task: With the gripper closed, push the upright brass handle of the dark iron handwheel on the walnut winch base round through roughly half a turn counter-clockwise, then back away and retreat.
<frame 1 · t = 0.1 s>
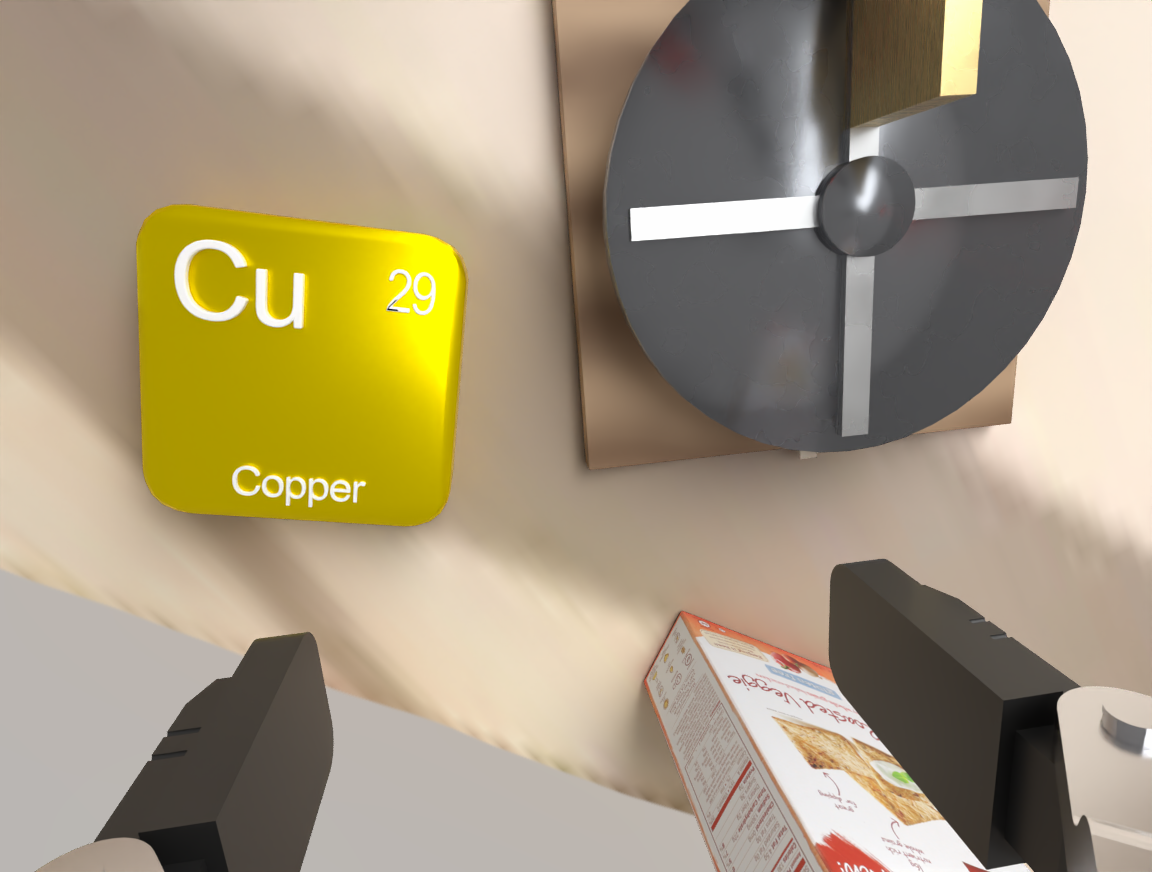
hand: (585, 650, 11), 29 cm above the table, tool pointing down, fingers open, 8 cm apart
cracker box: (749, 673, 46), on the table
winch base: (798, 216, 39), on the table
element tile: (323, 364, 38), on the table
handwheel: (890, 199, 30), point 9 cm above the table, hinge at 0.0°
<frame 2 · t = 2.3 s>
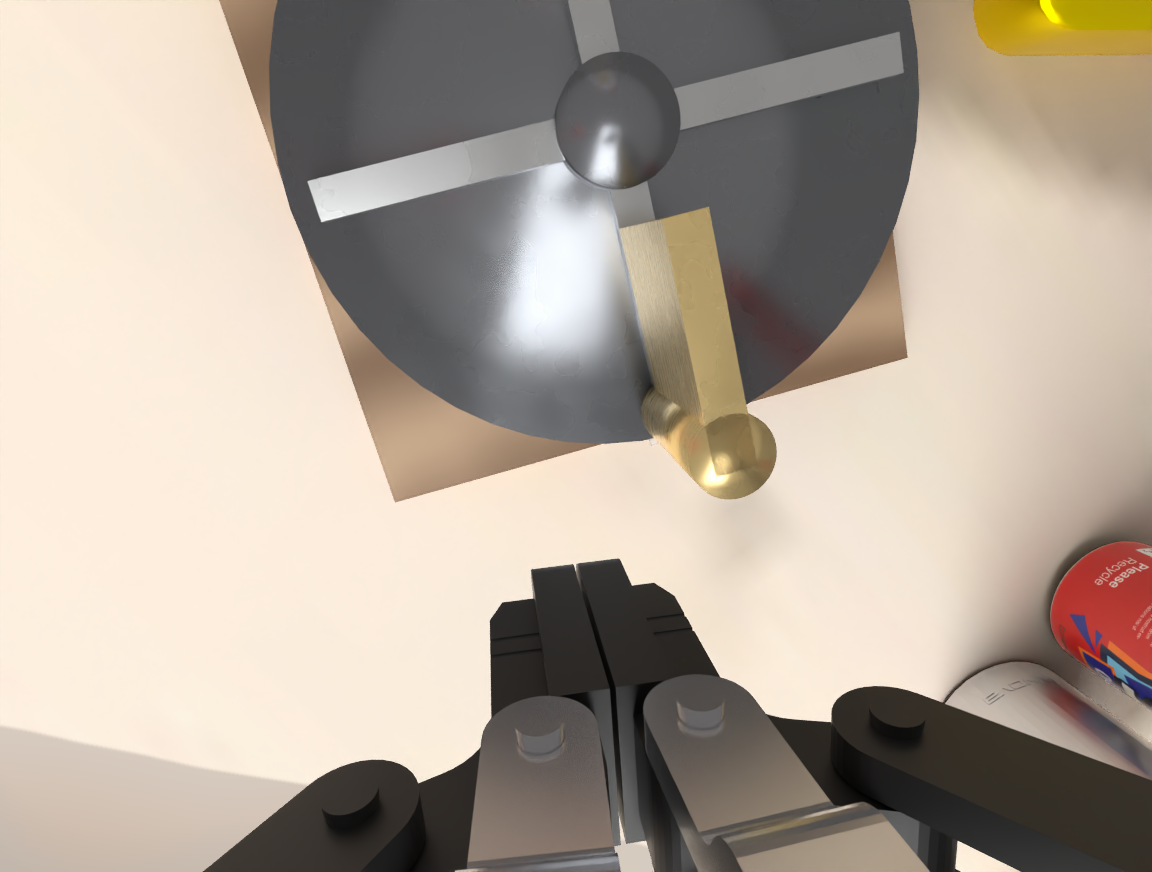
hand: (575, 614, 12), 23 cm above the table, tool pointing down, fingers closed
winch base: (588, 153, 31), on the table
handwheel: (629, 118, 23), point 9 cm above the table, hinge at 0.0°
soda can: (1095, 593, 41), on the table
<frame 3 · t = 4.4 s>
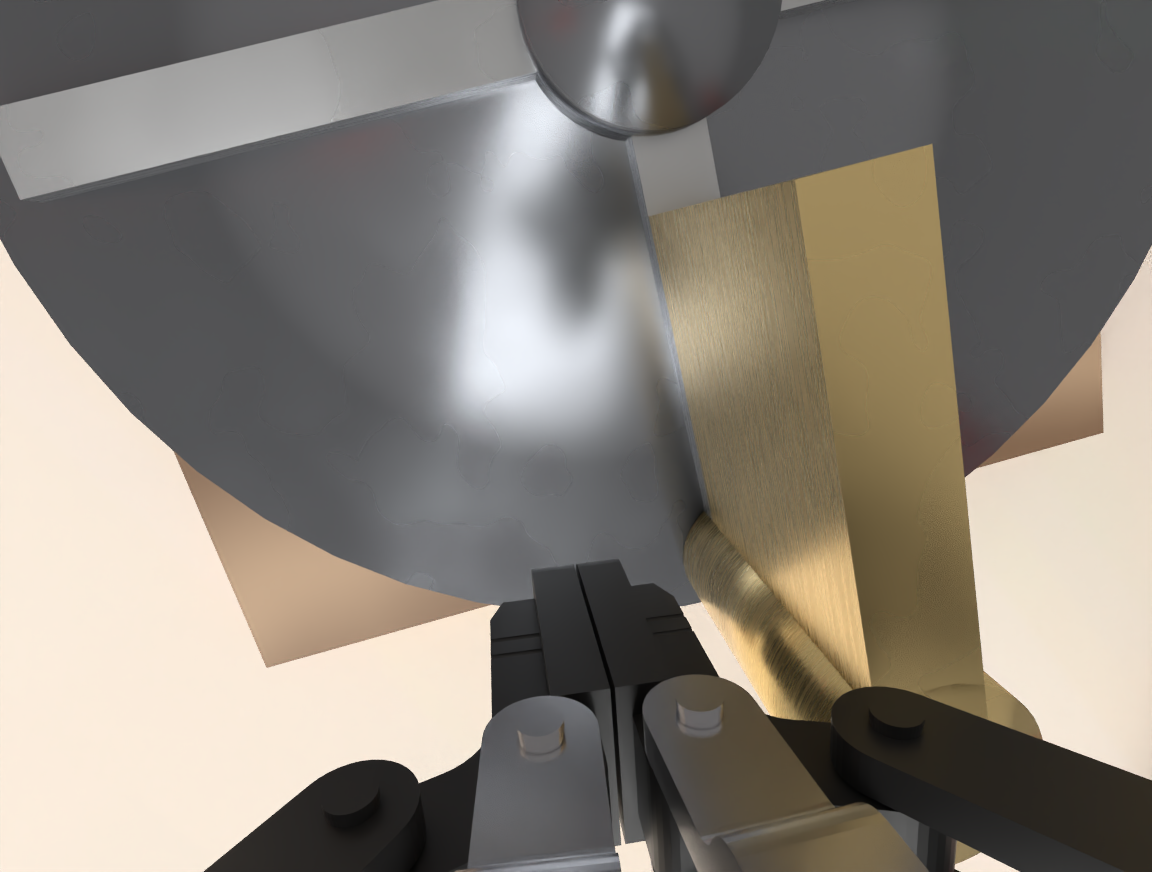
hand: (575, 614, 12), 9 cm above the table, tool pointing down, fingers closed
winch base: (589, 90, 18), on the table
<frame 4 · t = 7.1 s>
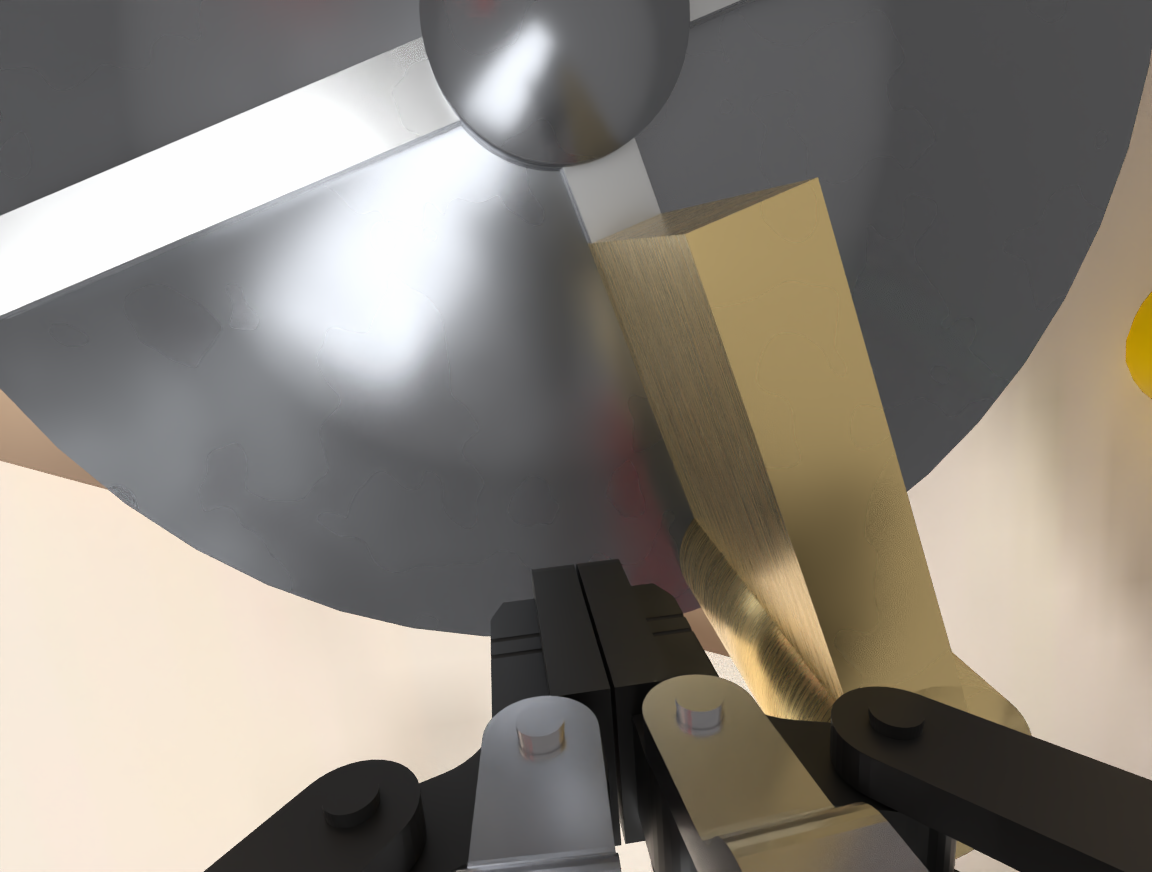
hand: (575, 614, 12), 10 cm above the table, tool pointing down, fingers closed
winch base: (531, 109, 18), on the table
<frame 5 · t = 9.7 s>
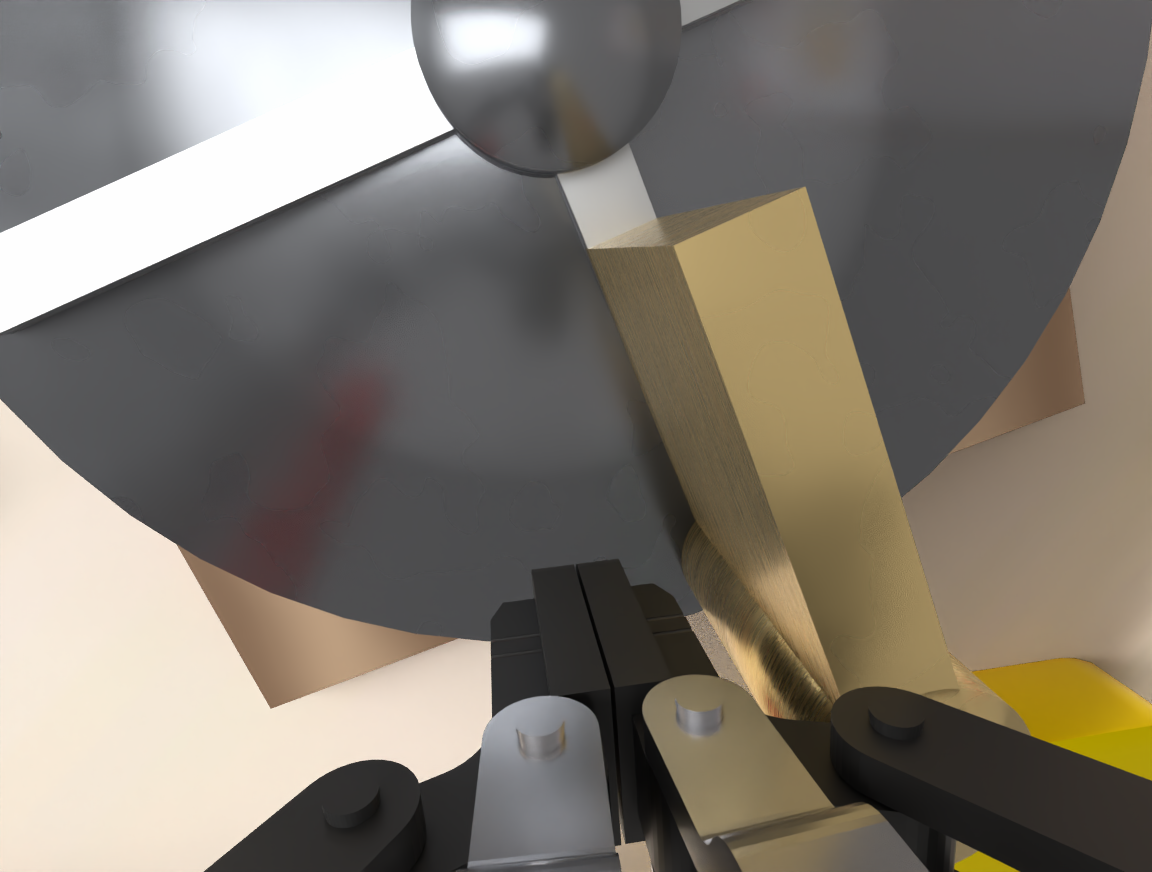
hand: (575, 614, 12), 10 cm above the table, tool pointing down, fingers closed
winch base: (528, 114, 18), on the table
element tile: (903, 834, 27), on the table
handwheel: (563, 4, 10), point 9 cm above the table, hinge at 94.0°, touching gripper
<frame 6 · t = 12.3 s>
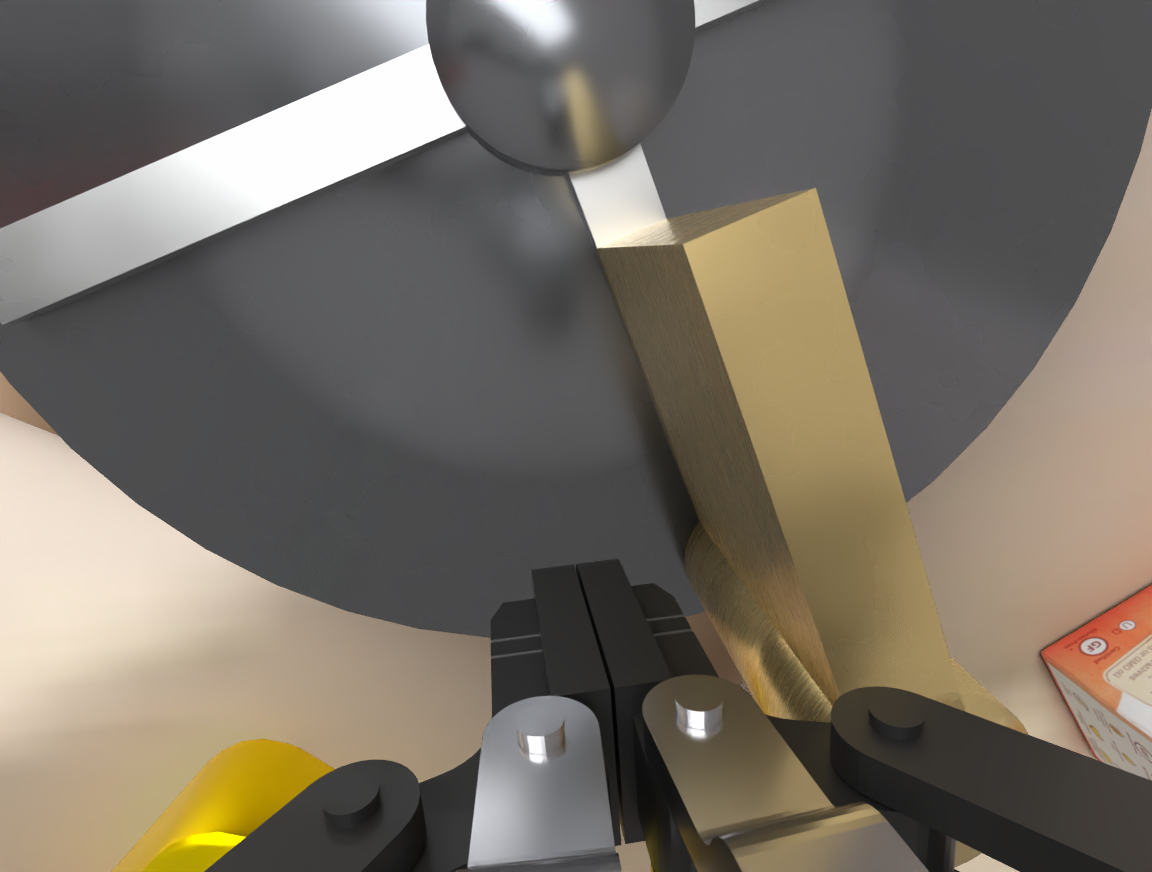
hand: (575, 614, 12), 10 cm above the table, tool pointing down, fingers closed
winch base: (540, 113, 18), on the table
handwheel: (577, 3, 10), point 9 cm above the table, hinge at 139.0°, touching gripper
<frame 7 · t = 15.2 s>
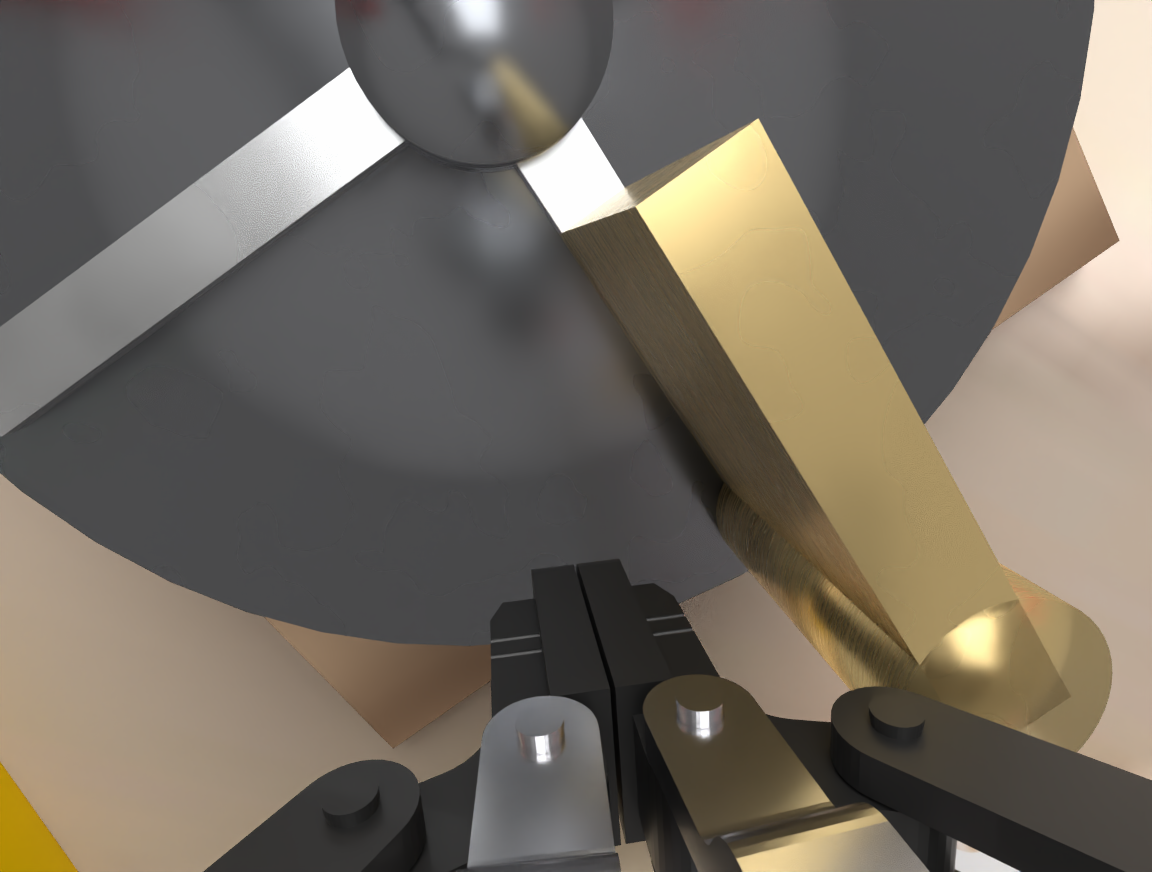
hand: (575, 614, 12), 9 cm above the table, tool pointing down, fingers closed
cracker box: (873, 842, 26), on the table
winch base: (480, 112, 18), on the table
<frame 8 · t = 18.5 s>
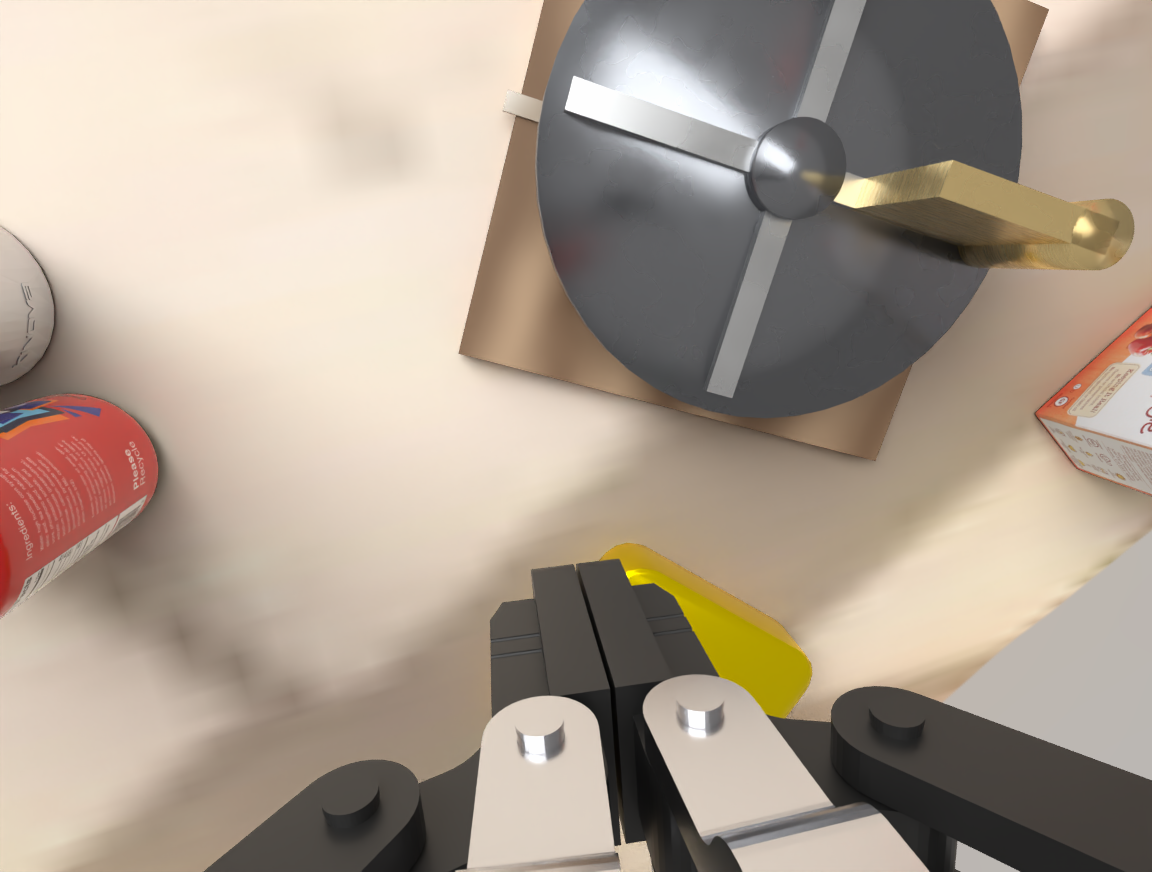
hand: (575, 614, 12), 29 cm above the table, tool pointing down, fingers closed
cracker box: (1129, 365, 45), on the table
winch base: (741, 185, 39), on the table
element tile: (647, 669, 46), on the table
handwheel: (821, 165, 30), point 9 cm above the table, hinge at 179.7°
soda can: (92, 458, 38), on the table
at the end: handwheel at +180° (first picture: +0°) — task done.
